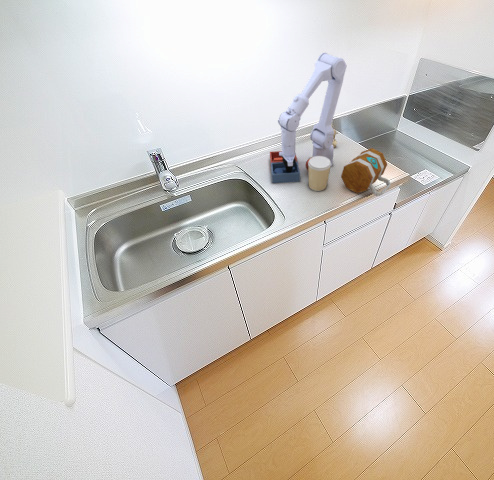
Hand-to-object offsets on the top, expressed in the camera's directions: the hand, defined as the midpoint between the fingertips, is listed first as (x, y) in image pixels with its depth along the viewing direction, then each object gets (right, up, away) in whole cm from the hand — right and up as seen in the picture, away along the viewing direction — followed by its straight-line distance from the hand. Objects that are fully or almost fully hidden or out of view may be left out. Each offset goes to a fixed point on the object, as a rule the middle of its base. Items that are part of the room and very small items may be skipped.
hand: (288, 171), depth 123 cm
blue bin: (-2, -2, +2) cm, 3 cm away
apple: (+12, 0, +4) cm, 12 cm away
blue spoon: (-2, -1, +1) cm, 2 cm away
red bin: (-3, +5, +8) cm, 10 cm away
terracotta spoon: (-3, +6, +8) cm, 10 cm away
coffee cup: (+13, -7, -3) cm, 15 cm away
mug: (+29, -8, -11) cm, 32 cm away
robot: (+20, +19, +20) cm, 34 cm away
